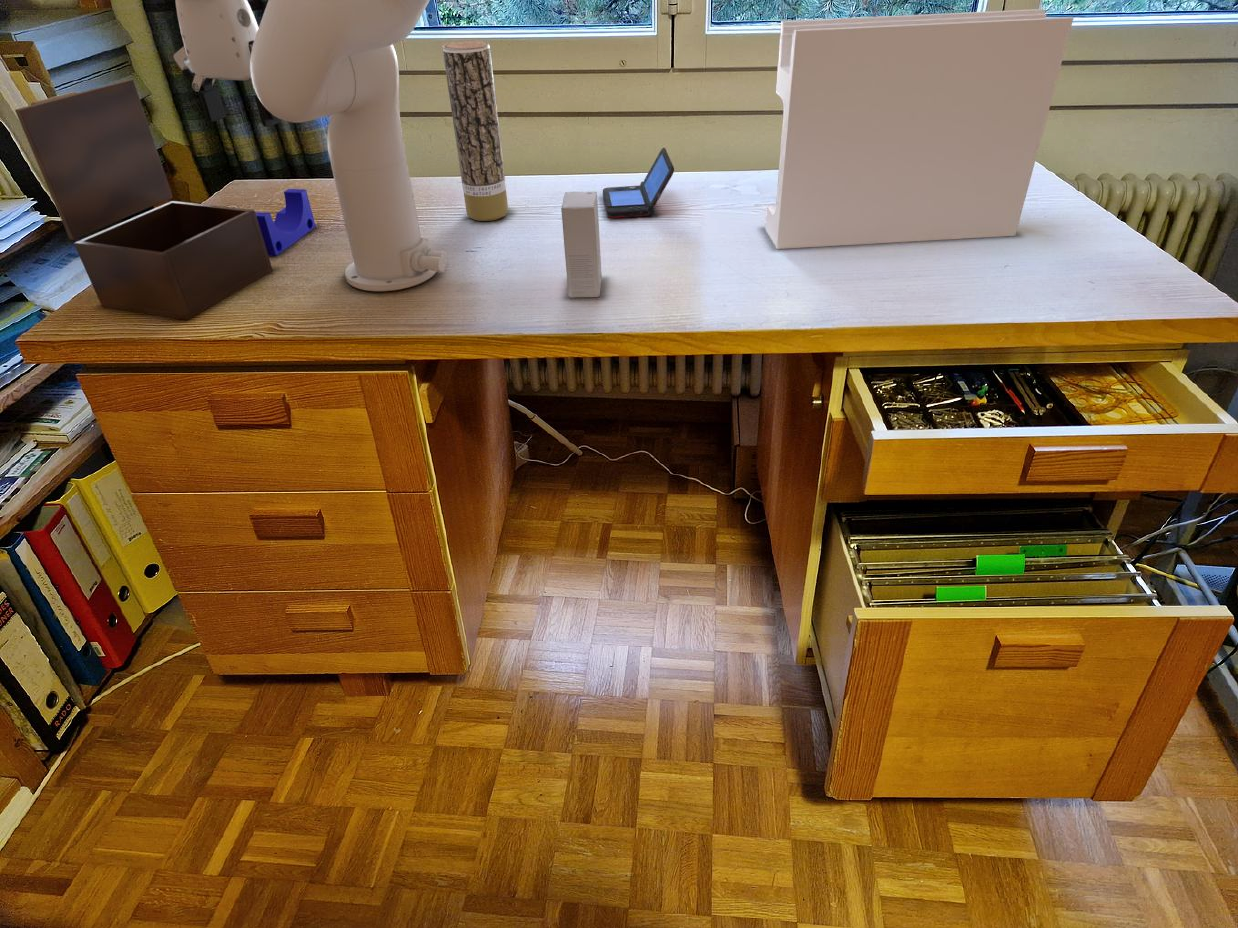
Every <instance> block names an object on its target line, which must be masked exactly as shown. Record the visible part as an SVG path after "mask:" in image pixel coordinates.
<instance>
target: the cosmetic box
mask: <svg viewBox="0 0 1238 928" xmlns="http://www.w3.org/2000/svg"><path fill="white" fill-rule="evenodd" d="M561 204H562V205H561V221H562V222H561V223H562V234H563V236H562V237H563V247H564V258H565V272H566V280H567V281H566V282H567V295H568V298H571V299H572V298H573V299H575V298H599V297H600V296H601V289H602V278H603V274H602V257H601V240H600V239H601V238H600V223H599V220H600V219H599V203H598V192H597V191H596V190H595V191H565V192H564V195H563V199H562V203H561Z"/></svg>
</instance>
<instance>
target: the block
mask: <svg viewBox="0 0 1238 928" xmlns="http://www.w3.org/2000/svg"><path fill="white" fill-rule="evenodd" d="M1046 11H1047V10H1046V9H1044V8H1034V9H1013V10H1012V9H1011V10H1010V9H1009V10H989V11H971V12H970V11H967V12H948V13H947V12H946V13H945V12H944V13H926V14H925V13H924V14H923V13H922V14H904V15H903V14H901V15H884V16H883V15H882V16H860V17H841V18H840V17H839V18H838V17H837V18H818V19H801V20H800V19H798V20H781V21H780V36H779V46H778V60H777V69H776V70H777V71H776V72H777V74H776V83H775V85H776V86H775V94H776V95H777V96H778V97H779V98H780V99H781V101H782V104H783V105H782V107H783V108H782V109H783V114H782V127H781V137H780V151H779V163H778V172H777V173H778V174H777V183H776V196H775V197H776V198H775V205H766V215H765V227H764V229H765V231H766V233H767V235H768V236H769V238H770V240H771V241H772V243H773V245H774V247H775V248H776V250H782V249H783V250H784V249H785V250H786V249H801V248H822V247H837V246H855V245H875V244H890V243H893V244H894V243H909V242H912V243H913V242H927V241H944V240H946V241H948V240H965V239H981V238H999V237H1015V236H1016V235H1017V231H1018V227H1019V224H1020V220H1021V217H1022V212H1023V209H1024V205H1025V201H1026V197H1027V193H1028V190H1029V186H1030V182H1031V178H1032V175H1033V171H1034V167H1035V163H1036V161H1037V157H1038V152H1039V148H1040V145H1041V142H1042V137H1043V134H1044V131H1045V130H1044V129H1045V126H1046V123H1047V119H1048V115H1049V111H1050V107H1051V104H1052V101H1053V97H1054V92H1055V89H1056V86H1057V81H1058V78H1059V74H1060V70H1061V66H1062V63H1063V59H1064V55H1065V51H1066V48H1067V44H1068V40H1069V36H1070V33H1071V30H1072V26H1073V21H1074V17H1072V16H1061V17H1058V16H1057V17H1047V14H1046Z"/></svg>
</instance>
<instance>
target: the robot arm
mask: <svg viewBox="0 0 1238 928" xmlns="http://www.w3.org/2000/svg"><path fill="white" fill-rule="evenodd" d="M430 1H431V0H268V1H267V4H266V6H265V9H264V12H263V14H262V17H261V20H260V23H259V24H258V22H257V20H256V17H255V14H254V12H253V10H252V7H251V5H250V3H249V1H248V0H175V1H174V2H175V9H176V15H177V21H178V25H179V29H180V34H181V39H182V43H183V46H182V47H181V48H179V49H178V50H177V51H176V52H175V53H174V54H173V59H174V61H175V62H176V64H177V66H178V67H179V69H180V70H181V71H182V74H183V77H184V78H186V80H187V81H188V82H189V83H191V88H192V89H193V90H194V91H195V92H197V94H198V97H199V101H200V102H201V106H202V109H203V113H204V116H205V119H206V122H208V123H213V122H215V121H216V122H217V121H218V120H221V119H224V118H225V117H226V110H225V107H224V103H223V101H222V97H221V94H220V90H219V88H218V87H217V86H214V85H215V84H214V83H215V81H216V79H217V80H228V81H246V82H247V83H248V84H249V86H251V88H252V89H253V90H254V92H255V94H256V96H255V102H256V106H257V110H258V114H259V117H260V121H261V124H262V126H263V127H265V128H269V127H272V126H275V125H277V124H279V123H281V121H284V122H288V123H297V124H298V123H306V122H311V121H315V120H319V119H321V118H325V117H328V116H329V120H328V126H327V134H326V145H327V152H328V153H327V154H328V159H329V162H330V167H331V171H332V176H333V180H334V183H335V188H336V193H337V197H338V201H339V204H340V210H341V213H342V217H343V222H344V226H345V230H346V234H347V239H348V243H349V247H350V251H351V255H352V259H353V261H352V262H350V263H349V264H348V265H347V266H346V268H345V270H344V276H345V279H346V282H347V284H348V285H350V286H352V288H353V287H354V288H355V289H359V290H362V291H369V292H390V291H391V292H392V291H398V290H403V289H408V288H412V287H415V286H418V285H420V284H422V283H425V282H426V281H428V280H430V279H431V278H433V276H434V275H436V273H437V272H439V273H443V272H445V270H446V268H447V257H448V256H447V253H446V252H445V251H441V250H432V249H431V248H430V247H431V246H430V242H429V238H427V237H426V238H424V237H422V236H421V230H420V224H419V219H418V214H417V213H418V212H417V209H416V208H417V207H416V202H415V198H414V192H413V187H412V181H411V175H410V170H409V166H408V165H409V163H408V159H407V152H406V147H405V141H404V136H403V129H402V121H401V111H400V69H399V60H398V56H397V52H396V50H395V49H396V48H395V47H394V45H396V44H399V43H400V42H403V41H404V40H405V39H407V38H408V37H409V36H410V34H412V33H413V31H414V29H415V28H416V26H417V24H418V22H419V21H420V19H421V17H422V15H423V13H424V12H425V10H426V8H427V6H428V4H429V3H430Z"/></svg>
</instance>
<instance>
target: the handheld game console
mask: <svg viewBox="0 0 1238 928" xmlns="http://www.w3.org/2000/svg"><path fill="white" fill-rule="evenodd" d="M674 172H675V166H674V164H673V163H672V160H671V158H670V156H669V153H668V152H667V149H666V148H665V147H662V148H661V150H660V151H659V152H658V154H657V156H656V158H655V160H654V162H653V163H652V165H651V167H650V168H649V170H648V172H647V174H646V176H645V178H644V179H643V181H641V182H640V184H639V185H625V186H612V187H611V186H610V187H609V186H608V187H604V188H603V189H602V196H603V202H604V206H605V211H606V216H608V217H609V218H611V219H617V218H633V217H648V216H649V217H653V216H654V215H655V211H654V207H655V206H656V205H657V202H658V201H659V199H660V197H661V196H662V194H663V192H664V191H665V189H666V187H667V186H668V184H669V182H670V180H671V179H672V177H673V175H674Z"/></svg>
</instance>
